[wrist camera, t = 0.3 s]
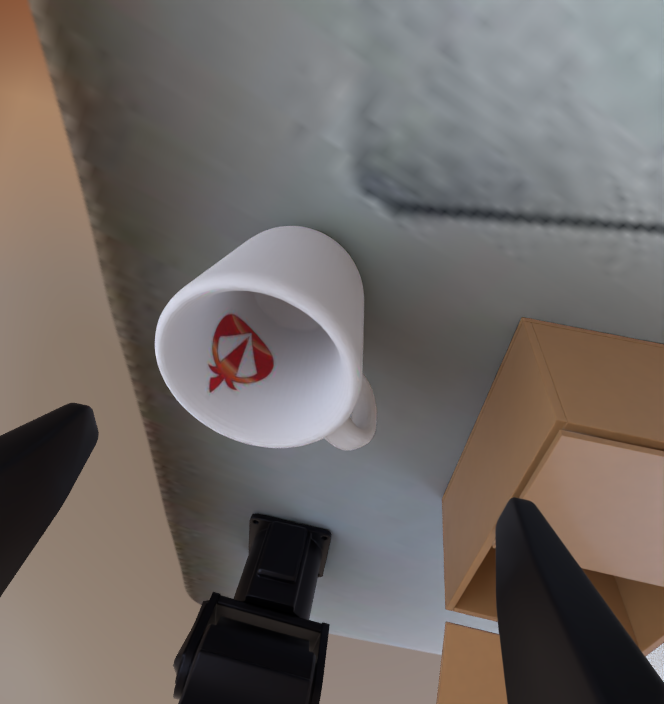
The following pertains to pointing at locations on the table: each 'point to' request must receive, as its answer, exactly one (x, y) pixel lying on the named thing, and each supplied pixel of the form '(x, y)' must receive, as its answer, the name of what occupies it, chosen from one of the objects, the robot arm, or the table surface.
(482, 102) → the table surface
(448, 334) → the table surface
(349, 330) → the cup
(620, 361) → the carton
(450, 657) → the flap
